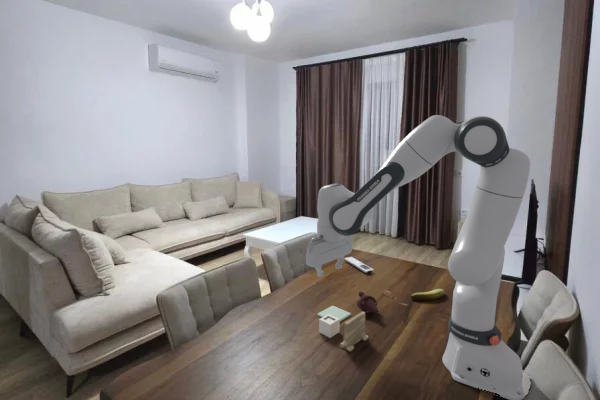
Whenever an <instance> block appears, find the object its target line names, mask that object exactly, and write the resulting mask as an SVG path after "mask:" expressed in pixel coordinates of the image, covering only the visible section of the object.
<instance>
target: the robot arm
mask: <svg viewBox="0 0 600 400" xmlns="http://www.w3.org/2000/svg"><path fill="white" fill-rule="evenodd" d="M453 152H458V153H459V154H460V155H461V156H462V157H464V158H465V159H467V160H468V161H470V162H473V163H474V164H476V165H478V166H480V173H479V176H478V179H477V183H476V186H475V190H474V192H473V196H472V199H471V201H470V206H469V208H468V209H469V210H468V213H467V214H466V217H465V219H464V221H463V224H462V226H461V228H460V231H459V233H458V236H457V238H456V241H455V244H454V245H453V249H452V250H451V251H452V252H451V253H450V255H449V259H448V261H447V269H448V271H449V274H450V276H451V277H452V278H453V280H455V281H456V282H455V286H454V289H453V291H452V292H453V293H452V303H451V304H452V306H451V315H449V320H448V334H449V336H448V341H447V344H446V347H445V350H444V353H443V355H442V364H443V365H444V366H445V368H446V369H447V370H448V371H449V372H450V374H451V377H452V379H453V381H456V382H458V383H461V384H464V385H467V386H469V387H472V388H475V389H478V388H479V389H478V390H481V389H482V390H481V391H484V390H486V391H490V392H494V393H497V394H499V395H500V396H499V397H502V398H504V399H507V400H523V399H525V398H524V395H525V393H524V391H523V387H522V378H523V371H525V370H523V364H522V361H521V358H520V356H519V355H518V354H517V352H515V351H514V350H513V349H511V348H510V346H508V345H507V343H505V341H504V340H502V334H503V327H501V328H500V329H499V328H498V327H497V325H496V324H495V320H496V319H495V318H496V312H497V311H496V310H497V309H496V308H497V301H498V296H499V289H500V286H501V279H502V275H503V268H504V262H505V255H506V249H505V248H506V247H505V245H506V243H507V241H508V239H509V236H510V234H511V231H512V229H513V227H514V224H515V222H516V219H517V216H518V213H519V210H520V208H521V204H522V202H523V199H524V196H525V194H526V190H527V186H528V181H529V176H530V169H531V160H530V158H529V156H528V155H527V154H526V153H525V152H523V151H521V150H519V149H516V148H511V147H510V146H509V142H508V138H507V135H506V132H505V130H504V128H503V126H502V125H501V124H500V123H499V122H498V121H497V120H495V119H494V118H492V117H491V116H486V115H478V116H472V117H471V118H469V119H467V120H463V121H460V122H457V123H455V122H454V121H452V120H451V119H450V118H448V117H446V116H444V115H439V114H435V115H431V116H430V117H428V118H426V119H425V120H424V121H422V122H421V123H420V124H418V126H416V127H415V128H414V129H412V130H411V131H410V132H409V133H408V134H407V135H406V136H405V137H404V138H403V139H402V140H401V141H400V142H399V143H398V144H397V146H396V147H395V148H394V149H393V150H392V152H391V153H390V154H389V156H388V157H387V159H386V160H385V161H384V162H383V164H382V165H381V166H380V168H379V169H378V170H377V171H376V173H375V174H374V175H373V176H372V177H371V178H370V179H369V180H368V181H367V182H366V183H365V184H363V186H361V187H360V188H359V189H358V190H357V191H356V192H353V191H351V190H349V189H348V188H346V187H345V186H344V184H342V183H332V184H326V185H323V186H322V187H320V189H319V190H318V195H317V205H316V209H317V210H316V211H317V215H318V218H317V223H316V224H317V225H316V236H314V237H311V239H310V240H309V242H308V243H307V247H306V255H305V263H306V265H307V266H308V267H311V268H314V269H315V271H316V276H317V277H319V278H321V277H324V276H325V274H324V273H325V271H324V270H322V267H323V265H324V264H325V265H326V264H327V263H329V262H332V261H335V260H336V263H335V266H334V267H335V269H336V270H340V269H342V268H343V263H344V259H345V256H347V255H349V254H351V253H352V251H353V246H354V245H353V243H354V241H353V240H354V238H353V235H354V234H356V233H357V232H358V231H359V230H360V229H362V227H364V226H366V225H367V224H368V223H369V222H370V221H371V220H372V219H373V218H374V215H375V207H376V205H378V204H379V203H380V202H381V201H382V200H383V199H384V198H385V197H386V196H387V195H389V194H390V193H391V192H393V191H395V190H396V189H398V188H400V187H402V186H404V185H406V184H408V183H410V182H412V181H414V180H416V179H417V178H419V177H421V176H422V175H424V174H425V173H426V172H427V171H429V170H430V169H431V168H432V167H433V166H435V165H436V164H437V163H438V162H439V161H440V160H441V159H442V158H443V157H444V156H446V155H448V154H450V153H453ZM486 391H485V392H486Z"/></svg>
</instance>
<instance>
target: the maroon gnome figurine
mask: <svg viewBox="0 0 600 400" xmlns="http://www.w3.org/2000/svg"><path fill="white" fill-rule="evenodd" d="M358 297H359V299H358V300H357V301H356V305H357V306H358V307H359V309H360V310H361V311H360V312H362V311H363V312H365V315H366V314H372V313H377V314H378V313H379V309H378V306H377V305H378V302H377V299H376V298H375V297H374V296H371V295H369V294H368V295H367V294H365V292H363V291H359V292H358Z"/></svg>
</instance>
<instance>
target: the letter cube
mask: <svg viewBox="0 0 600 400" xmlns="http://www.w3.org/2000/svg"><path fill="white" fill-rule="evenodd" d="M318 321H319V322H318V326H319V327H318V333H319V334H322V335H324V336H325V337H328V338H329V339H331V338H332V337H334V336H335V335H337V334H339V333H340V327H341V326H340V324H341V323H340V319H338V318H336V317H334V316H332V315H330V314H328V315H326V316H324V317H320V318H319V319H318Z"/></svg>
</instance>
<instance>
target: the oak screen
mask: <svg viewBox="0 0 600 400" xmlns="http://www.w3.org/2000/svg"><path fill="white" fill-rule="evenodd" d="M361 340H362V341H364V342H366V341H367V340H369V335H367V334H366V313H365V312H363V311H360V312H358V313H357V314H356V315H354V316H353V317H350V319H347V320H345V321H344V322H343V341H342V342H340V344H339V346H340V348H342V349H345V350H346V351H348V352H349V353H350V352H353V350H354V349H355V345H356V344H357V343H358V342H360V341H361Z"/></svg>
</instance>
